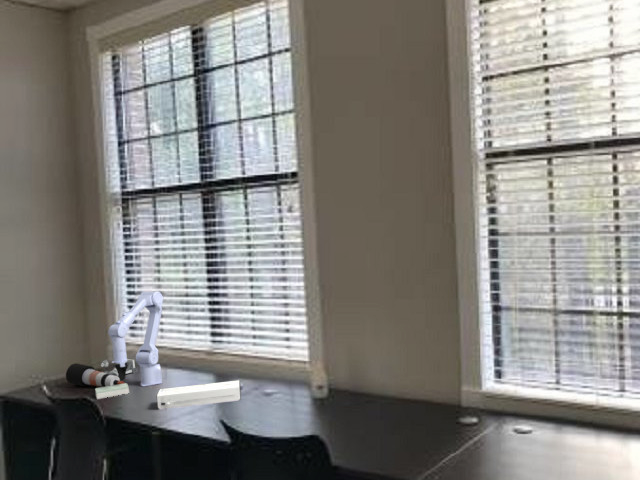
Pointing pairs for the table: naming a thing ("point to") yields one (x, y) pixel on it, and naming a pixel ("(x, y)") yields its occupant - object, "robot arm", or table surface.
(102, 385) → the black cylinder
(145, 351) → the robot arm
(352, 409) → the table surface
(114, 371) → the phone holder
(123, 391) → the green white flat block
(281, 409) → the table surface
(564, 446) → the table surface
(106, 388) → the cover
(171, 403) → the laminator
